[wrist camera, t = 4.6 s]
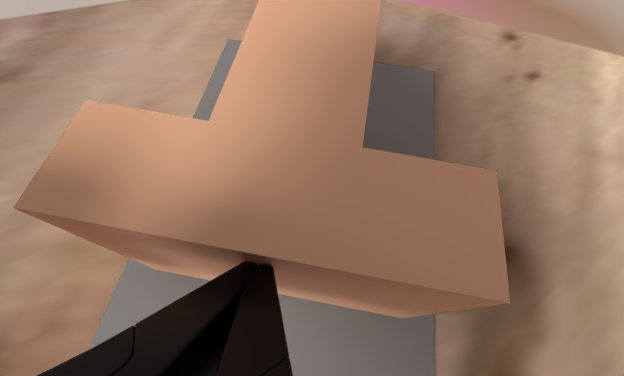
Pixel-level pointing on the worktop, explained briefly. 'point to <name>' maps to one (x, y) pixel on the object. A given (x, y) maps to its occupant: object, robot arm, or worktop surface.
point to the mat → (306, 313)
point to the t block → (283, 180)
